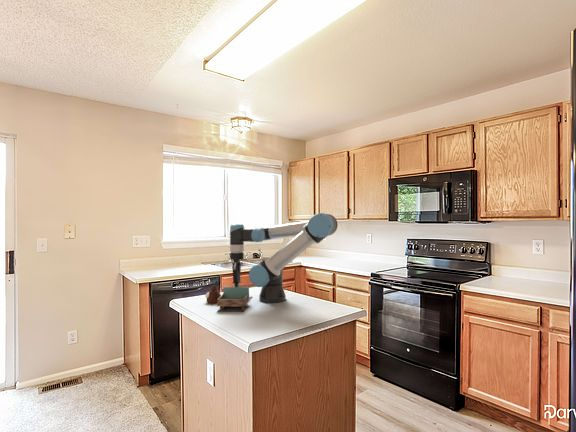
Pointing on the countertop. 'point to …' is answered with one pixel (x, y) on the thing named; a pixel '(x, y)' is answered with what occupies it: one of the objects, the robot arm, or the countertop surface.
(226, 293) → the shallow wooden tray
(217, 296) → the poop emoji
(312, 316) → the countertop surface
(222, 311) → the track
